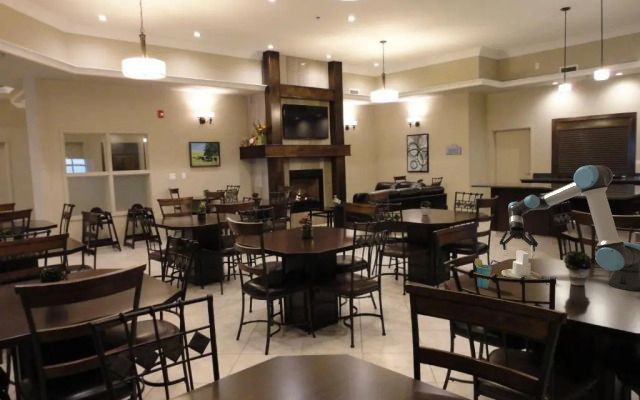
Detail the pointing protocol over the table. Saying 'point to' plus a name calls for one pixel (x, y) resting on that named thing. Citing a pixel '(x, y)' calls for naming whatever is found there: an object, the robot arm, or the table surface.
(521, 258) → the base with upright slab
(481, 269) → the cup
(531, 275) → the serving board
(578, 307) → the table surface
